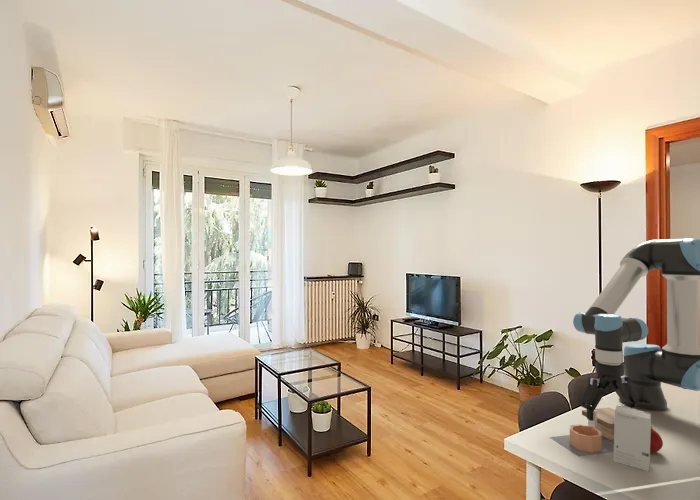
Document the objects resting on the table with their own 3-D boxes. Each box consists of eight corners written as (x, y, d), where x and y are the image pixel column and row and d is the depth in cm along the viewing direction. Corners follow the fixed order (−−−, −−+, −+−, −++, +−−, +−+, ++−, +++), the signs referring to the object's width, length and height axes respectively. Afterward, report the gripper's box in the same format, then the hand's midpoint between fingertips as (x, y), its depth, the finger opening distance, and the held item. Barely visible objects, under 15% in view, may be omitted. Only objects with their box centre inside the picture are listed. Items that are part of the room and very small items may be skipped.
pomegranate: (667, 459, 111) (667, 431, 112) (644, 457, 113) (644, 429, 113) (655, 449, 117) (655, 422, 117) (634, 447, 118) (634, 421, 118)
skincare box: (613, 463, 109) (612, 410, 110) (615, 454, 114) (615, 404, 114) (650, 474, 104) (649, 418, 104) (651, 464, 109) (651, 411, 109)
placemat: (591, 434, 127) (591, 432, 127) (624, 452, 115) (624, 450, 115) (549, 439, 124) (549, 437, 124) (578, 458, 112) (578, 456, 112)
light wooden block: (609, 429, 130) (609, 414, 130) (628, 439, 124) (628, 423, 124) (592, 431, 129) (591, 416, 129) (610, 441, 122) (609, 425, 122)
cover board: (609, 411, 133) (609, 407, 133) (639, 425, 122) (639, 420, 122) (581, 414, 131) (581, 410, 131) (610, 428, 120) (610, 424, 120)
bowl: (586, 437, 123) (586, 423, 123) (608, 450, 115) (608, 435, 115) (564, 440, 122) (563, 426, 122) (585, 453, 114) (584, 438, 114)
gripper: (629, 357, 133) (630, 419, 132) (567, 361, 128) (568, 426, 127) (650, 362, 125) (651, 429, 125) (585, 367, 120) (586, 437, 120)
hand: (609, 428), depth 126 cm, fingers open, 12 cm apart
